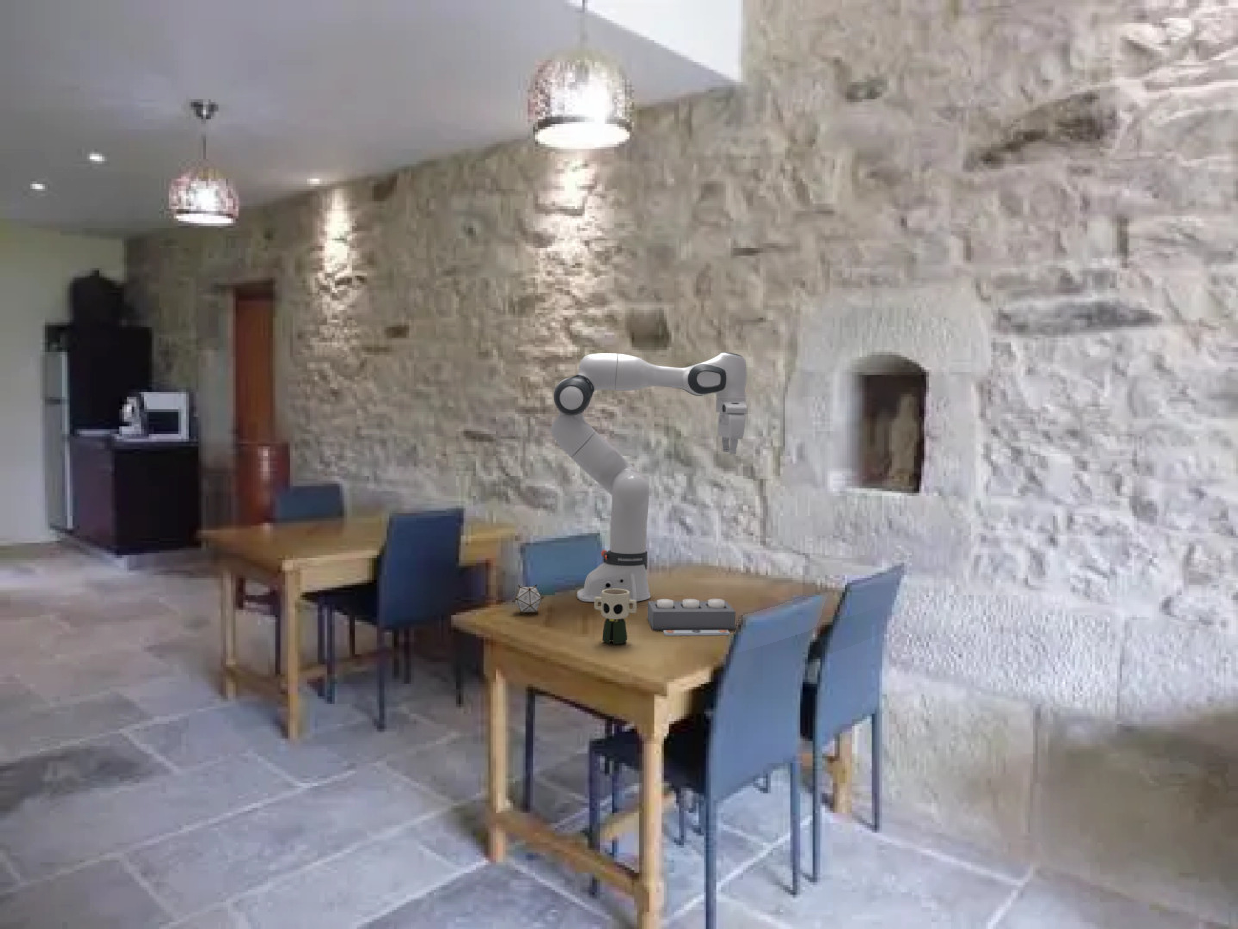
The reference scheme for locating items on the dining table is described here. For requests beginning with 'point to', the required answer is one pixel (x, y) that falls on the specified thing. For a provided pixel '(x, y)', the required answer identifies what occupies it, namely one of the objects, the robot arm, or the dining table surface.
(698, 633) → the pattern card
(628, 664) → the dining table surface
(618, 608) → the character mug
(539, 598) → the white spiked icosahedron
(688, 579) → the dining table surface
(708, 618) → the button box
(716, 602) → the right button
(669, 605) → the left button
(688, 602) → the middle button
